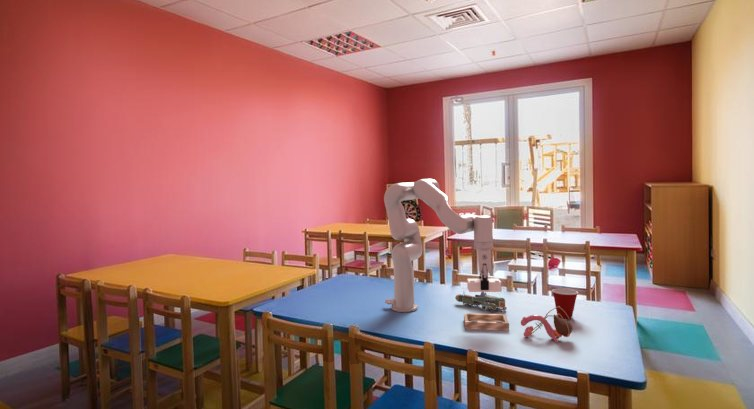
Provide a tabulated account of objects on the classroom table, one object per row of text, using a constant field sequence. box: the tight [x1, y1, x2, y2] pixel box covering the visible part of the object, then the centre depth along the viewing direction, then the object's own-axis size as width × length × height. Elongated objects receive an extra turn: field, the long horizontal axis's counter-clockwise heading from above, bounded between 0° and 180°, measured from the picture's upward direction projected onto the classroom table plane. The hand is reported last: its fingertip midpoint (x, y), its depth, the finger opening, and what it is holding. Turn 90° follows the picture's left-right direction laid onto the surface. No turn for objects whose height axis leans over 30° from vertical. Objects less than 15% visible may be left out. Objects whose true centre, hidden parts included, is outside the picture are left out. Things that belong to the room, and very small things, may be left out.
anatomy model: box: [520, 306, 574, 344], centre depth 164 cm, size 11×15×17 cm
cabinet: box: [463, 312, 510, 331], centre depth 180 cm, size 17×11×3 cm, turn 81°
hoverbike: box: [454, 290, 507, 313], centre depth 203 cm, size 10×25×8 cm, turn 57°
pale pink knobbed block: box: [466, 277, 502, 293], centre depth 179 cm, size 13×6×4 cm, turn 85°
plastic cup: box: [551, 288, 579, 320], centre depth 187 cm, size 11×11×12 cm
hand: (484, 287), depth 179 cm, fingers closed on pale pink knobbed block, 6 cm apart
